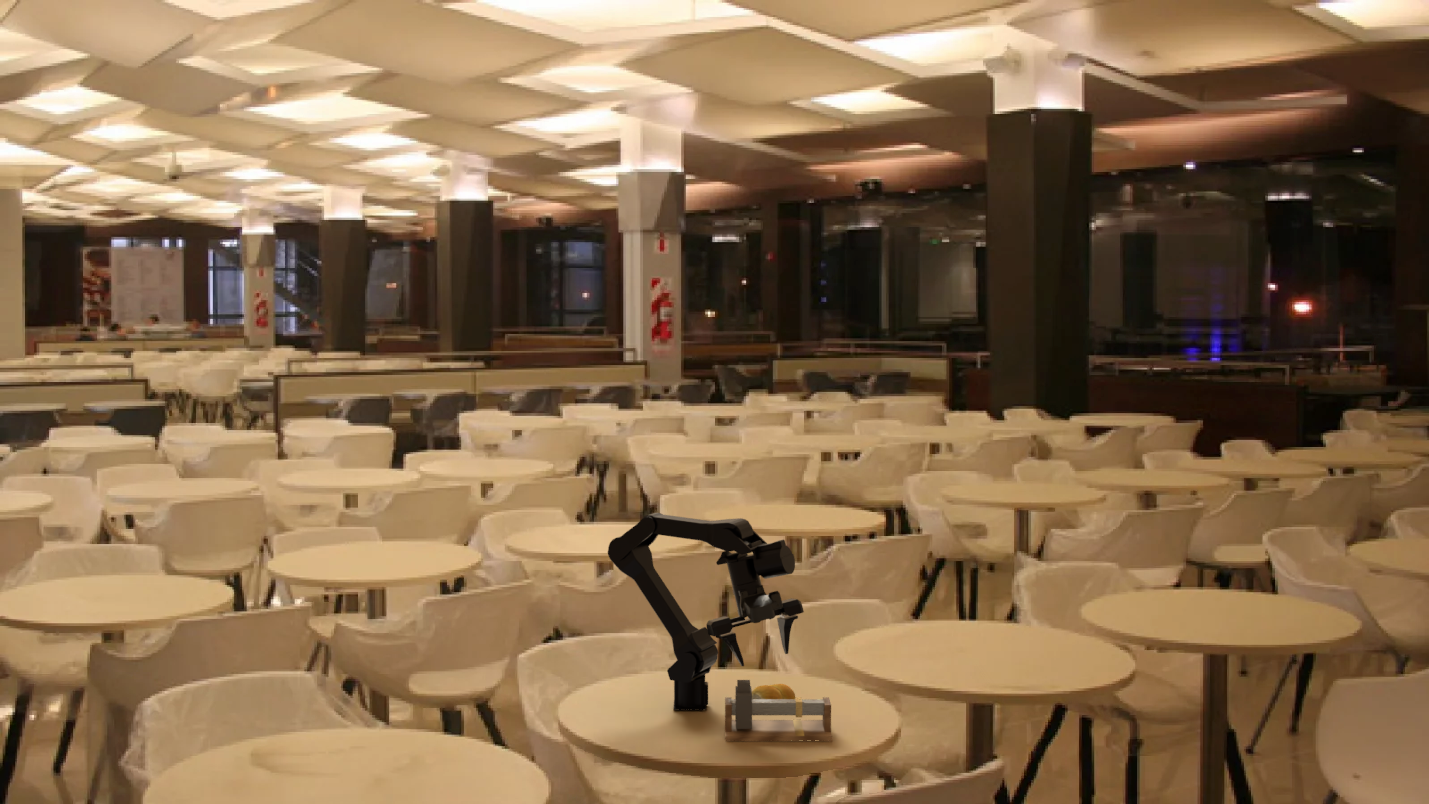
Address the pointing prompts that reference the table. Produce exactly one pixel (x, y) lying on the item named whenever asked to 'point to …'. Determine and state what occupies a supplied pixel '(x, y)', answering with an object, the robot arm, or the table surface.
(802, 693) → the table surface
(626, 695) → the table surface
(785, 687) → the bread roll
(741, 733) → the stand
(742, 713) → the grey stepped block
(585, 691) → the table surface
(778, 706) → the brushed metal beam
